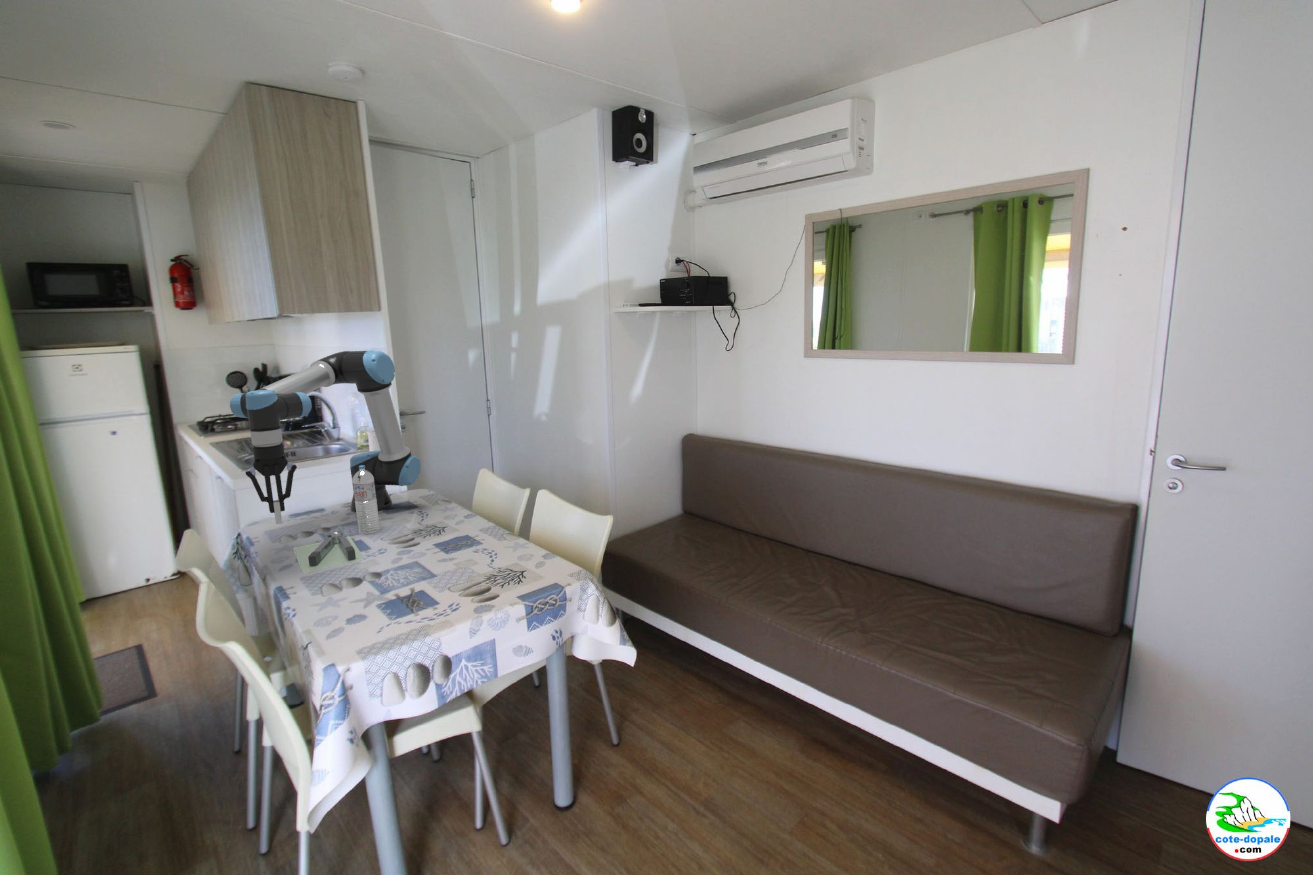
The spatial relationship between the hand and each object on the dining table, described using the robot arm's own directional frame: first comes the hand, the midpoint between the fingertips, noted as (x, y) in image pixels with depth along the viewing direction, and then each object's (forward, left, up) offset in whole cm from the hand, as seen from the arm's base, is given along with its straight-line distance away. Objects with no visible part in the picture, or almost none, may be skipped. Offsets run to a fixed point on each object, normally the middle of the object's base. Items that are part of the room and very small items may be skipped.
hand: (279, 522), depth 180 cm
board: (-12, -6, -16) cm, 21 cm away
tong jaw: (-10, -5, -15) cm, 19 cm away
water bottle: (-27, -20, -16) cm, 37 cm away
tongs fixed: (-16, -7, -15) cm, 23 cm away
